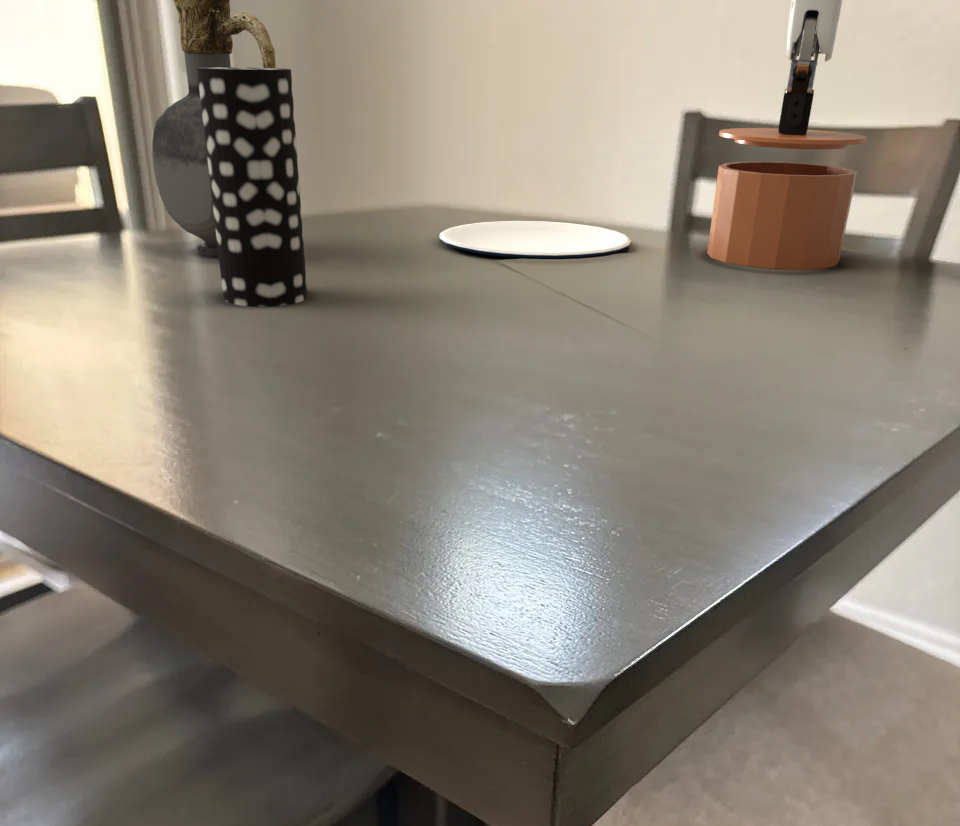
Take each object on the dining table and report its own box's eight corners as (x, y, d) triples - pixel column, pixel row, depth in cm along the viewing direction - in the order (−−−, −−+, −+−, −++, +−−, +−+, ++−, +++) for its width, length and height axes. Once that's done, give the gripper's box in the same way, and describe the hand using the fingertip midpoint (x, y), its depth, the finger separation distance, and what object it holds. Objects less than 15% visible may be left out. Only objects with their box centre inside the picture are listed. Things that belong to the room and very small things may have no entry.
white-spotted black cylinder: (323, 294, 100) (308, 69, 89) (276, 311, 93) (254, 70, 83) (256, 286, 103) (234, 66, 92) (206, 301, 96) (176, 67, 86)
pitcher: (226, 239, 126) (195, -42, 110) (323, 260, 116) (305, -48, 100) (152, 250, 119) (109, -49, 103) (249, 273, 109) (217, -57, 93)
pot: (785, 248, 129) (800, 160, 124) (864, 270, 117) (885, 174, 111) (684, 253, 124) (695, 162, 119) (755, 277, 112) (771, 177, 106)
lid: (804, 137, 123) (813, 86, 120) (896, 150, 110) (908, 93, 107) (691, 138, 118) (697, 85, 115) (773, 151, 104) (783, 92, 102)
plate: (525, 272, 112) (525, 260, 111) (401, 240, 128) (401, 230, 128) (671, 250, 126) (672, 240, 125) (541, 224, 142) (542, 215, 141)
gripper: (865, -70, 96) (826, 139, 105) (860, -55, 109) (826, 129, 119) (786, -70, 98) (755, 135, 107) (791, -55, 111) (763, 126, 121)
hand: (792, 130), depth 113 cm, fingers closed on lid, 3 cm apart
